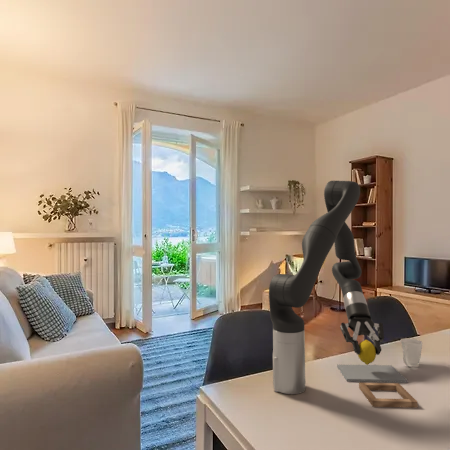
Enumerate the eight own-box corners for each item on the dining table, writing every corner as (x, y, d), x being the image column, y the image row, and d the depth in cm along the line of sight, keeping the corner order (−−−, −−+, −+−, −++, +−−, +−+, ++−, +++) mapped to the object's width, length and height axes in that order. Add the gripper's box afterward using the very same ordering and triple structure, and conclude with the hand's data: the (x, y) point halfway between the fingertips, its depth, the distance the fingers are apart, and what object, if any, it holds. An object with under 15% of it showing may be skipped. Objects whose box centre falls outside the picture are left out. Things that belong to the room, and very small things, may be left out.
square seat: (372, 406, 93) (372, 400, 93) (359, 387, 104) (358, 382, 104) (417, 407, 92) (417, 401, 92) (398, 388, 104) (398, 383, 104)
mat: (346, 381, 109) (346, 379, 109) (337, 366, 121) (337, 364, 121) (407, 382, 108) (407, 379, 108) (391, 367, 120) (391, 365, 120)
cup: (426, 364, 122) (426, 340, 122) (416, 372, 115) (415, 347, 115) (405, 359, 127) (404, 336, 127) (393, 366, 120) (393, 342, 121)
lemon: (378, 368, 111) (377, 342, 111) (359, 367, 112) (358, 342, 113) (374, 362, 117) (373, 337, 117) (356, 361, 118) (355, 336, 118)
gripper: (337, 301, 123) (347, 347, 111) (380, 301, 122) (395, 348, 110) (333, 313, 128) (343, 358, 116) (374, 313, 127) (388, 359, 115)
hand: (368, 353), depth 113 cm, fingers closed on lemon, 5 cm apart
